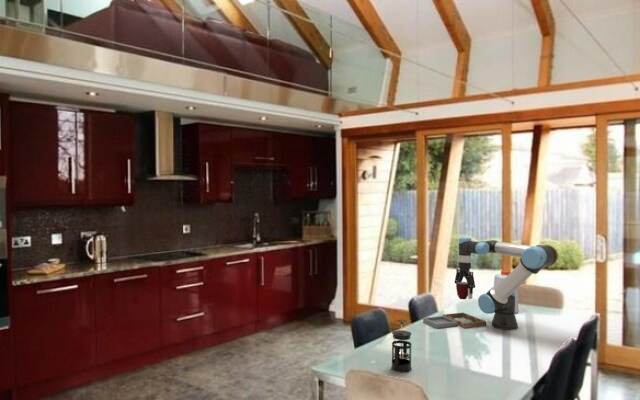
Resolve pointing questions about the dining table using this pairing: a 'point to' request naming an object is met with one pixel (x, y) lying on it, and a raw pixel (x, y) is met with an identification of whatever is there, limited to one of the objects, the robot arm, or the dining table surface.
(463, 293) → the mug
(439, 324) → the tray
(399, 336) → the french press
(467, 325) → the brown wooden tray
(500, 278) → the plastic bottle
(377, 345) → the dining table surface
